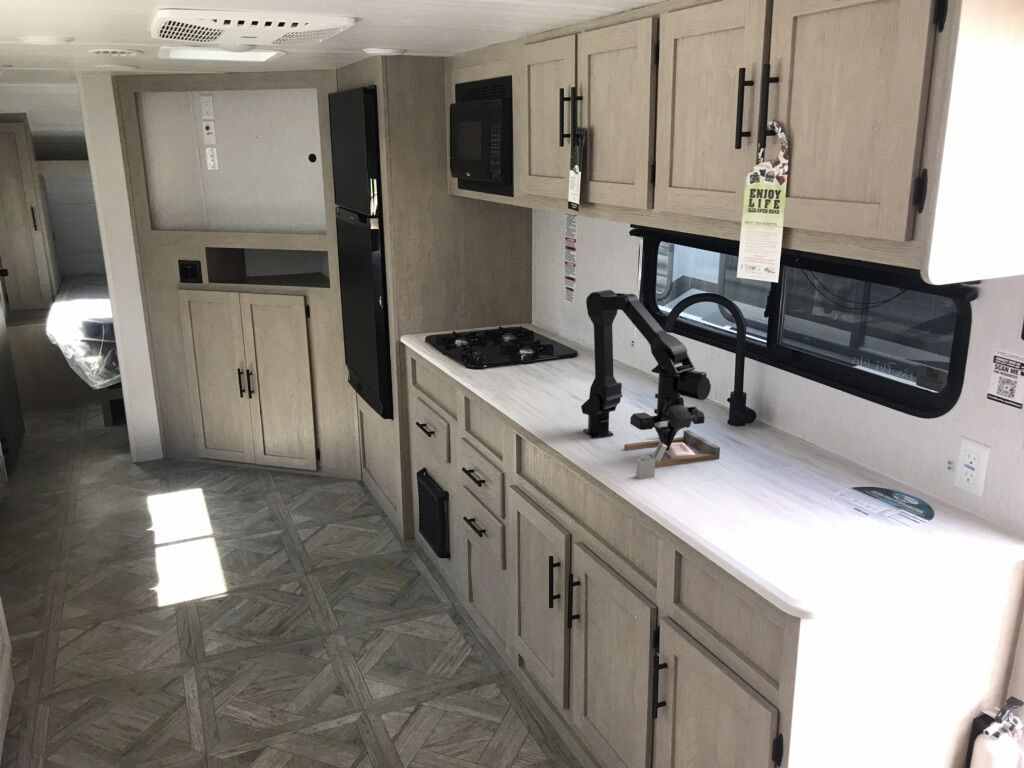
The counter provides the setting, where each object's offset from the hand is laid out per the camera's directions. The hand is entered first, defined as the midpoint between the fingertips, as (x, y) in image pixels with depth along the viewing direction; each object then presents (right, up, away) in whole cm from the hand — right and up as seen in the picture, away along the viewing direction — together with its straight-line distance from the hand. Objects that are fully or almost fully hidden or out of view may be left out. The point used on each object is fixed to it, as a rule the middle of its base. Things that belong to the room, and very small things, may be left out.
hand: (665, 450), depth 222 cm
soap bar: (+3, -2, +1) cm, 4 cm away
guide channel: (+1, -1, +1) cm, 1 cm away
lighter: (-6, -5, -14) cm, 16 cm away
